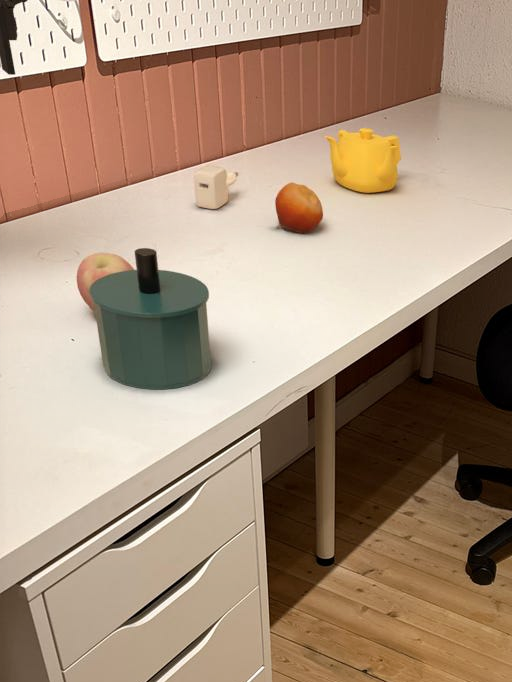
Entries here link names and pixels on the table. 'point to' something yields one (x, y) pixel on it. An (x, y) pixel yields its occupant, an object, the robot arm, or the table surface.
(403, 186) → the table surface
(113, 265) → the apple
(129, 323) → the pot
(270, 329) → the table surface
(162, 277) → the pot lid
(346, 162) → the teapot
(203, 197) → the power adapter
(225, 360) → the table surface
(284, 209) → the fruit
